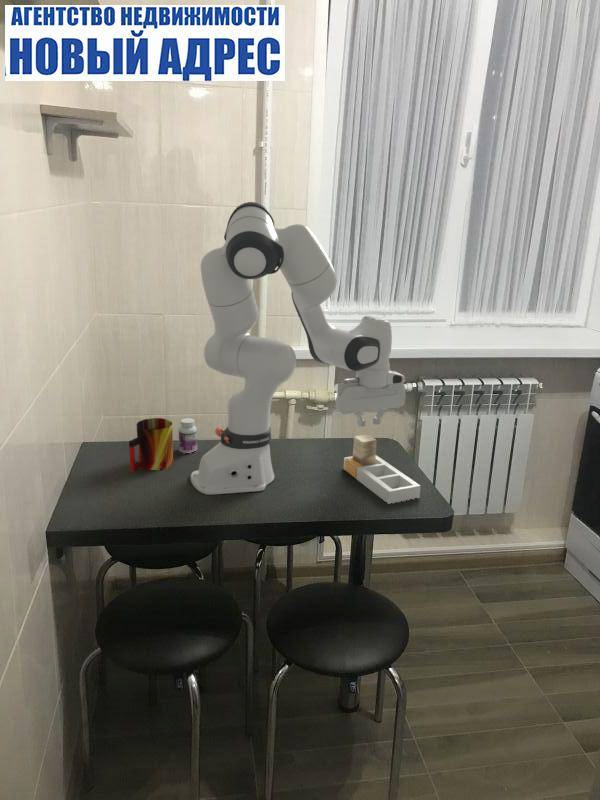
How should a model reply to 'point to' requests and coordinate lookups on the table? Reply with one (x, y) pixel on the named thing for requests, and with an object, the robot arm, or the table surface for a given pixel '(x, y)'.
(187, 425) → the pill bottle
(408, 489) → the rack
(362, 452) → the wooden block
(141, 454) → the mug
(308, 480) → the table surface
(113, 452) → the table surface
